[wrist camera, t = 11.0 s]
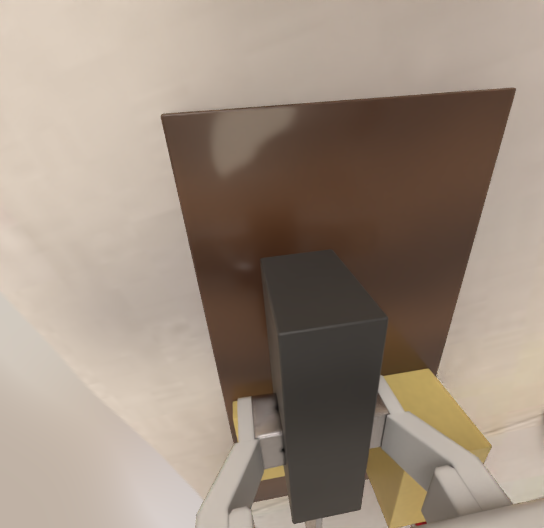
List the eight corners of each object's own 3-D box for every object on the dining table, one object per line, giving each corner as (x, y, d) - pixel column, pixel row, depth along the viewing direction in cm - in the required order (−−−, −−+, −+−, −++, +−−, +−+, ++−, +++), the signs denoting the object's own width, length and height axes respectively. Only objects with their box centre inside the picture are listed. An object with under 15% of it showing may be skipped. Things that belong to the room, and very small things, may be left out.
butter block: (362, 379, 18) (406, 463, 13) (428, 367, 18) (492, 446, 14) (355, 444, 21) (388, 529, 17) (411, 433, 21) (459, 514, 17)
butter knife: (259, 257, 10) (277, 334, 6) (332, 248, 10) (389, 317, 6) (286, 518, 18) (300, 612, 15) (324, 510, 19) (347, 601, 15)
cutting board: (167, 115, 11) (159, 114, 10) (487, 90, 13) (517, 87, 11) (246, 483, 24) (247, 504, 23) (400, 452, 25) (410, 471, 24)
